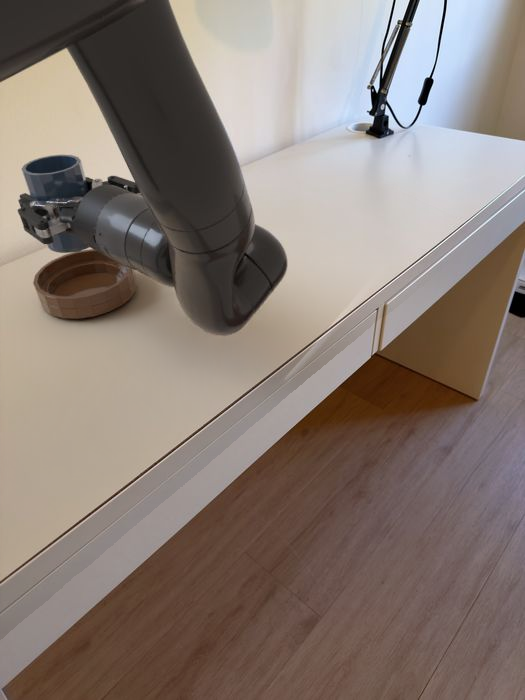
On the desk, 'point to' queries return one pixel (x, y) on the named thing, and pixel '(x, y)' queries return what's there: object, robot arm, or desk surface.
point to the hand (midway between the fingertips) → (51, 192)
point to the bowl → (83, 285)
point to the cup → (57, 190)
